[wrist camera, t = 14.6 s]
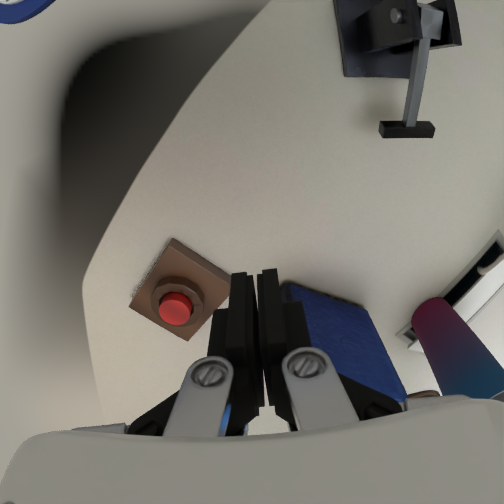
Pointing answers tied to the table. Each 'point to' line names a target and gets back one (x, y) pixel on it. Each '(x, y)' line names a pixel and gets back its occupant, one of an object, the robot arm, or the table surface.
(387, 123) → the lever
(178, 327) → the button box
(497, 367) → the cup
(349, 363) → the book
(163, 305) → the button
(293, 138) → the table surface
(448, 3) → the bracket
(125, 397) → the table surface
